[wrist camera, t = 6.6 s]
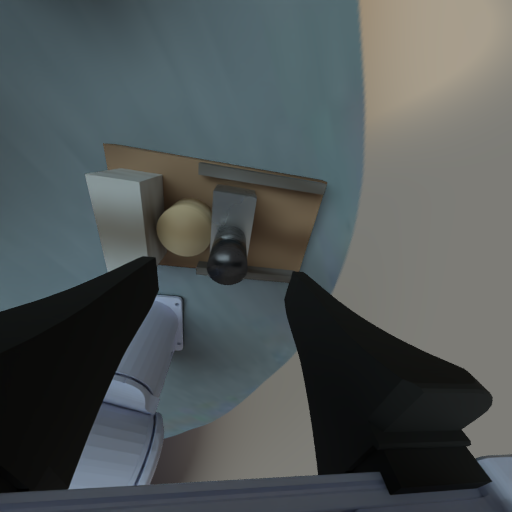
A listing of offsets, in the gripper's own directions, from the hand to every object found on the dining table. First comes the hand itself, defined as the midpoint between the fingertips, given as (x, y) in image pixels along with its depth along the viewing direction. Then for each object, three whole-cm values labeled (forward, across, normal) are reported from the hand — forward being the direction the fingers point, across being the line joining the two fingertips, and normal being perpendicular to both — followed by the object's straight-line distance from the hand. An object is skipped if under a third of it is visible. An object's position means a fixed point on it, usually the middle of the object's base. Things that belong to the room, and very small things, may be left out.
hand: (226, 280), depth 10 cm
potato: (+8, +4, 0) cm, 9 cm away
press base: (+10, +1, 0) cm, 10 cm away
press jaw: (+8, 0, 0) cm, 8 cm away
